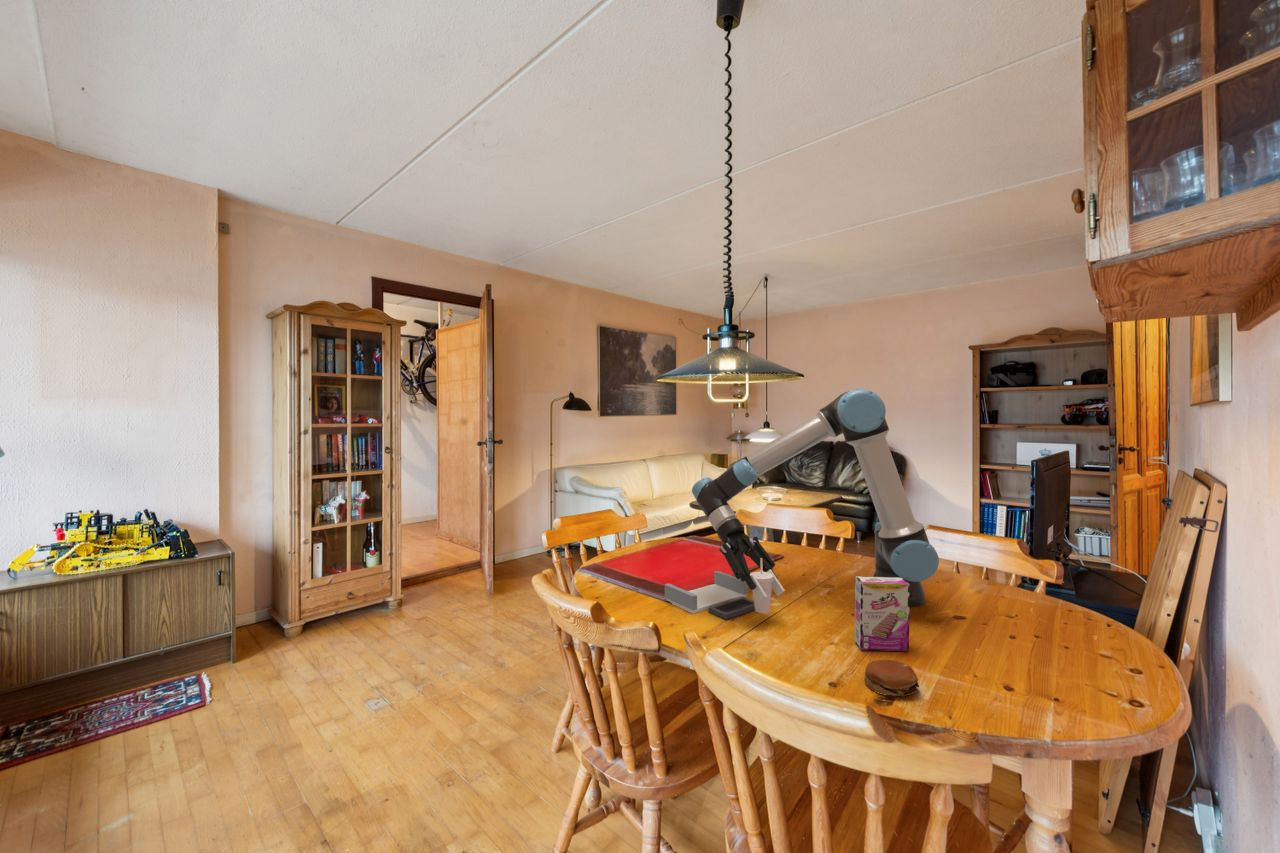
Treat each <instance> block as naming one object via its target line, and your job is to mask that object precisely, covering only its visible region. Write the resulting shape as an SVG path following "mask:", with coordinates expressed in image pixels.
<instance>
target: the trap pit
mask: <svg viewBox="0 0 1280 853" xmlns="http://www.w3.org/2000/svg"><path fill="white" fill-rule="evenodd" d="M708 608H709V609H708V614H710V615H713V616H715V617H718V618H720V619H722V620H725V621H729V620H732V619H734V618H737V617H740V616H743V615H746V614H751V613H752V612H756V611H755V605H754V599H753V600H752V599H750V598H748V597H746V598H745V597H741V598H737V599H734V600H731V601H728V602H725V603H721V604H718V605H715V606H712V607H708Z"/></svg>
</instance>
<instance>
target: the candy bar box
mask: <svg viewBox="0 0 1280 853" xmlns="http://www.w3.org/2000/svg"><path fill="white" fill-rule="evenodd" d="M909 591H910V584H909V583H908V582H906V581H905V580H904V579H902V578H896V577H873V576H859V575H858V576H854V642H855V644H856V645H857V647H858V648H859V650H860V651H872V652H873V651H874V652H876V651H877V652H899V651H908V652H907V653H909V651H910V606H909V593H910V592H909Z"/></svg>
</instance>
